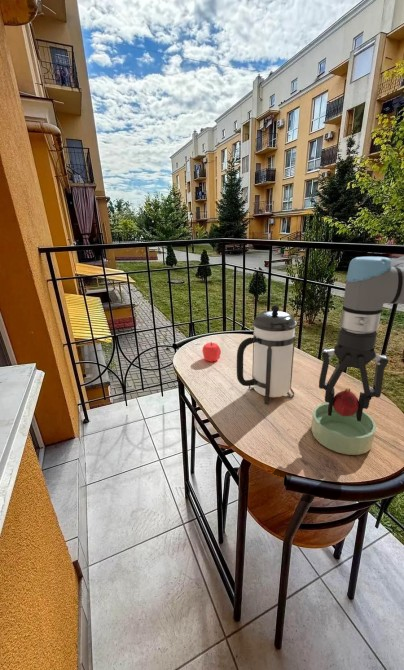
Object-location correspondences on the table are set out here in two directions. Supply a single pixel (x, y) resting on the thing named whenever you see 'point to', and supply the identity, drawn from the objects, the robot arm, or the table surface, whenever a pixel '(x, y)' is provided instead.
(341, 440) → the bowl
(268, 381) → the coffee press
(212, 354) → the apple
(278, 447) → the table surface
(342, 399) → the onion
